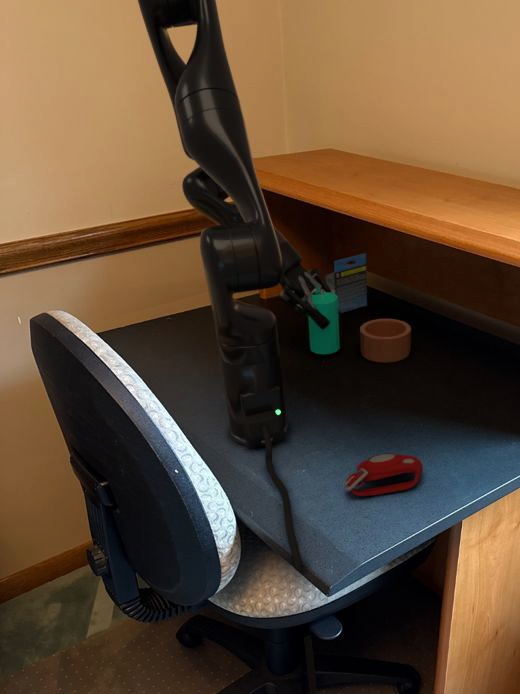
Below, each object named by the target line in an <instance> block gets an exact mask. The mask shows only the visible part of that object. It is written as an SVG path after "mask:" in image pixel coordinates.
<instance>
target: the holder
mask: <svg viewBox="0 0 520 694" xmlns="http://www.w3.org/2000/svg"><path fill="white" fill-rule="evenodd" d="M359 338H360V341H359V342H360V355H361V356H362V357H363V358H364V359H366V360H368V361H370V362H376V363H395V362H399V361H402V360H405V359H407V358H408V357H409V355H410V354H411V349H412V348H411V346H412V328H411V325H409V323H407V322H406V321H403V320H400V319H395V318H377V319H371V320H368V321H366V322H364V323H363V324H362V325H360V327H359Z"/></svg>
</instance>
